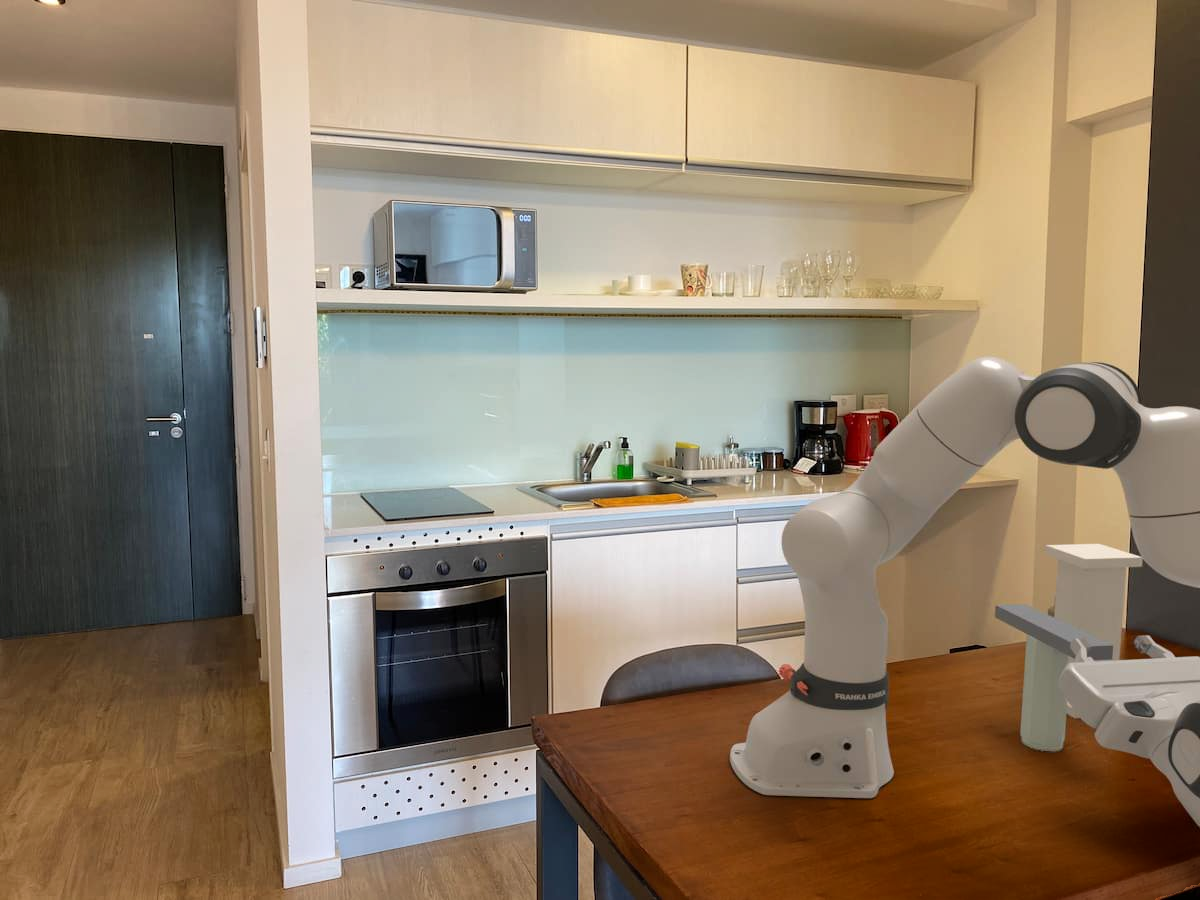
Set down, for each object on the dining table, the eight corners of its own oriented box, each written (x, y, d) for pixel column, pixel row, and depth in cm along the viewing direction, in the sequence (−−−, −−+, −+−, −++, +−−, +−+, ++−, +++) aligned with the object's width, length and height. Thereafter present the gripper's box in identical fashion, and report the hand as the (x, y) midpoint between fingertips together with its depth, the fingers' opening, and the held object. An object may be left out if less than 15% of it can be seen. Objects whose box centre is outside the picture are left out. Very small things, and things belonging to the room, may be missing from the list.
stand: (1073, 718, 146) (1085, 559, 143) (1035, 694, 156) (1045, 545, 153) (1130, 715, 148) (1142, 557, 144) (1088, 691, 157) (1099, 543, 154)
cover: (1078, 661, 124) (1079, 646, 124) (994, 617, 144) (995, 605, 144) (1112, 659, 125) (1113, 645, 125) (1024, 616, 145) (1024, 604, 145)
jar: (1036, 753, 133) (1043, 643, 131) (1013, 736, 139) (1019, 631, 137) (1071, 751, 134) (1079, 642, 132) (1047, 734, 140) (1054, 630, 138)
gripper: (1261, 705, 111) (1188, 620, 122) (1109, 714, 108) (1048, 626, 119) (1235, 737, 115) (1167, 652, 126) (1088, 747, 112) (1031, 659, 123)
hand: (1108, 639), depth 122 cm, fingers open, 8 cm apart
